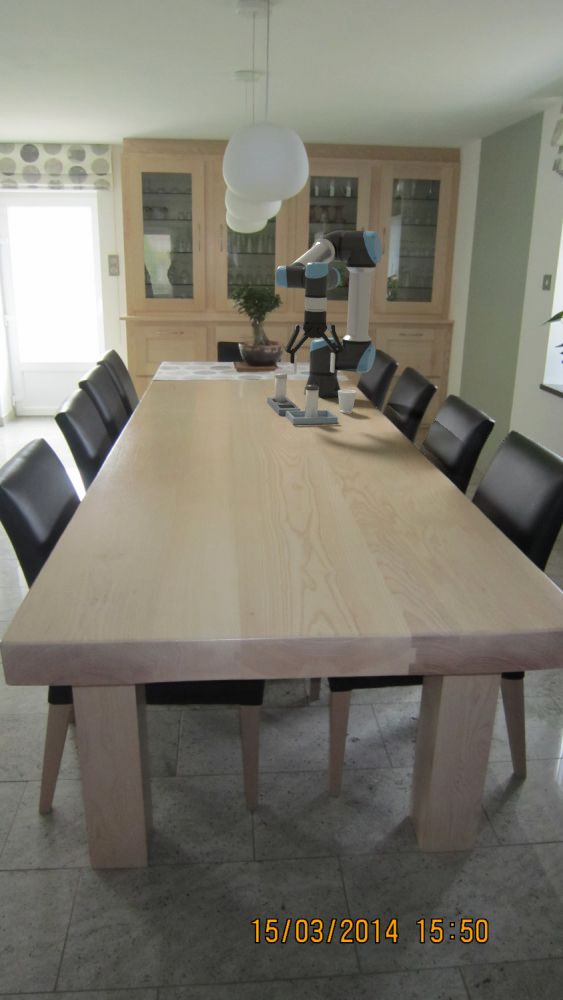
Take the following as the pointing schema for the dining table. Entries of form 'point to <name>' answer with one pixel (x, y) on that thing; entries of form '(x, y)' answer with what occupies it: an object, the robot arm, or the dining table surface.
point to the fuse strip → (282, 406)
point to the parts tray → (311, 418)
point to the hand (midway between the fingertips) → (313, 372)
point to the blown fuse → (311, 401)
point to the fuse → (280, 387)
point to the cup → (346, 400)
